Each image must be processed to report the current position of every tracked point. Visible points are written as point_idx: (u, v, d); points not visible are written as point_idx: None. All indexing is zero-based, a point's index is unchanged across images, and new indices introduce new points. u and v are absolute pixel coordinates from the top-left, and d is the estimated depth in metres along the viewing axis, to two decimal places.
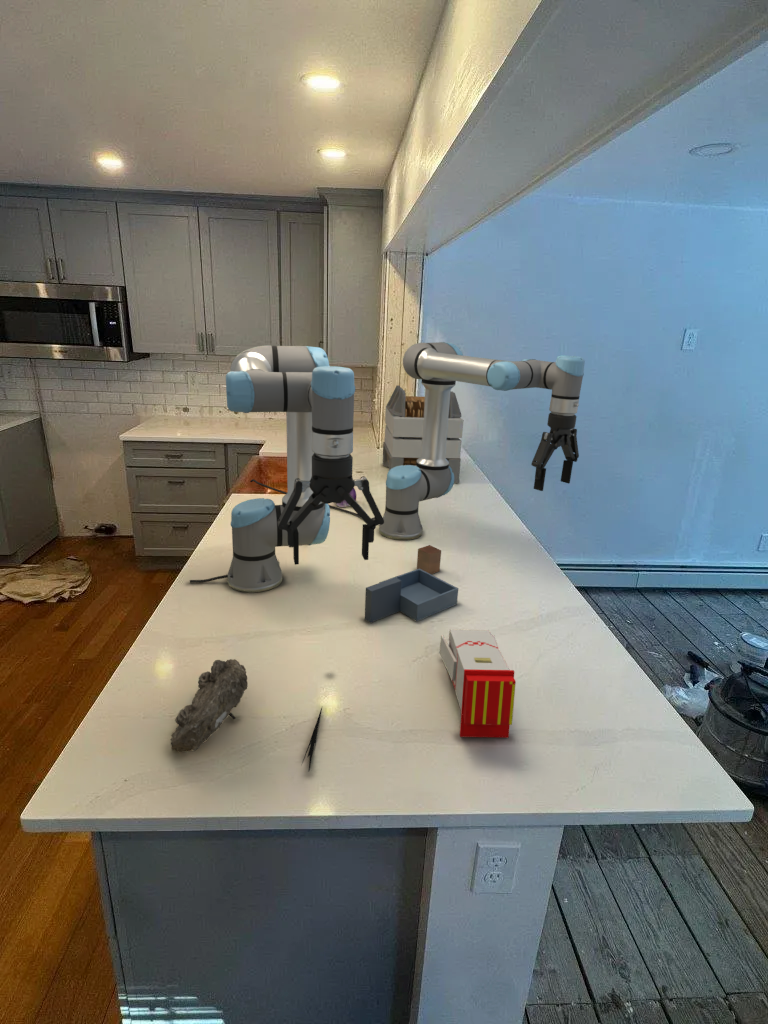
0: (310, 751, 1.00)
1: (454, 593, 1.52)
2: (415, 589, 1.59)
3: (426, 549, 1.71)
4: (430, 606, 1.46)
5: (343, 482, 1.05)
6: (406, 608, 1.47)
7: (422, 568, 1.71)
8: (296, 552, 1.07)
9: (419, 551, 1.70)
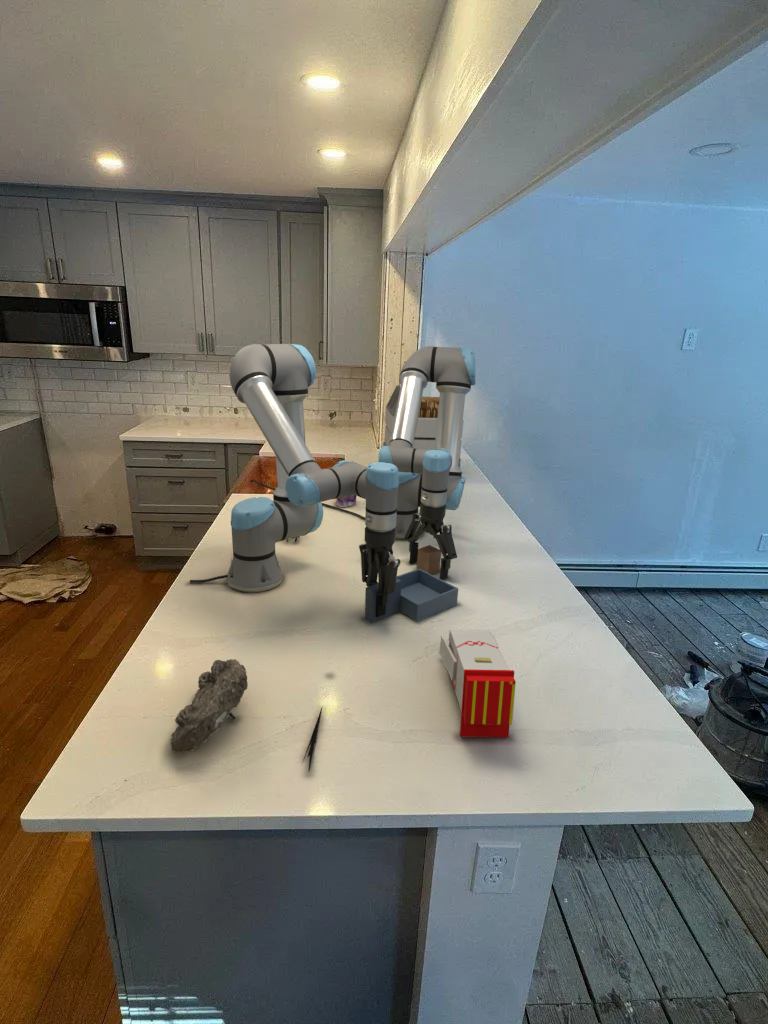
0: (310, 751, 1.00)
1: (454, 593, 1.52)
2: (415, 589, 1.59)
3: (426, 549, 1.71)
4: (430, 606, 1.46)
5: (381, 550, 1.37)
6: (406, 608, 1.47)
7: (422, 568, 1.71)
8: None
9: (419, 551, 1.70)
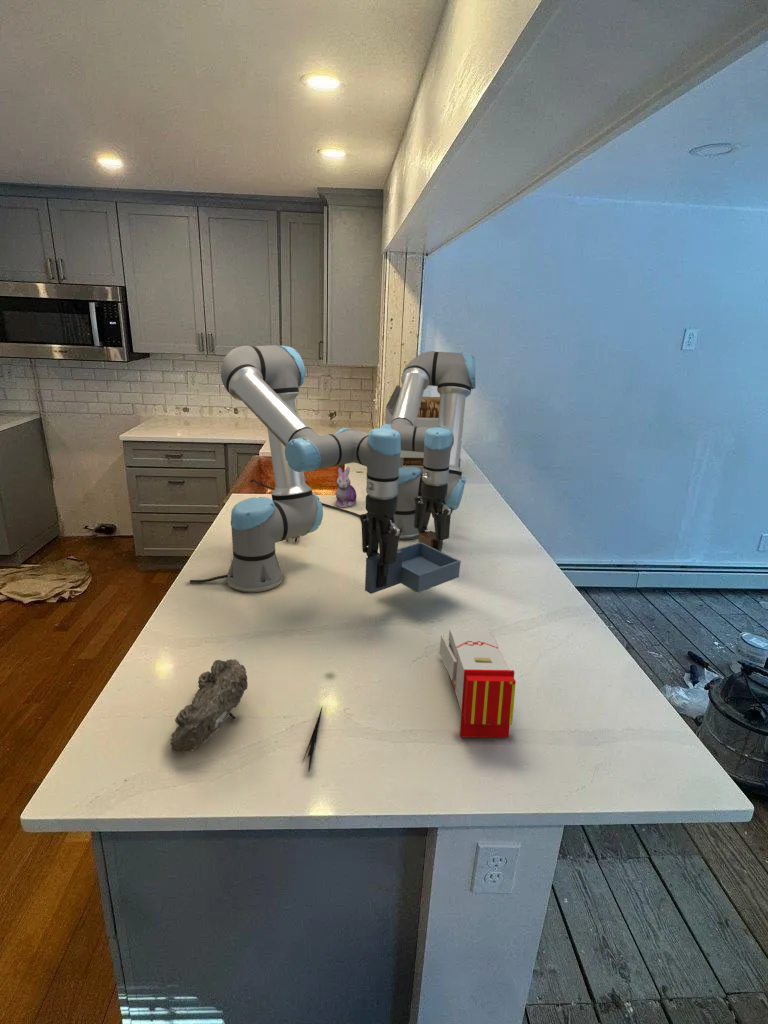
0: (310, 751, 1.00)
1: (456, 566, 1.49)
2: (416, 562, 1.57)
3: (428, 534, 1.69)
4: (432, 577, 1.44)
5: (382, 518, 1.34)
6: (407, 580, 1.44)
7: None
8: None
9: (420, 536, 1.69)
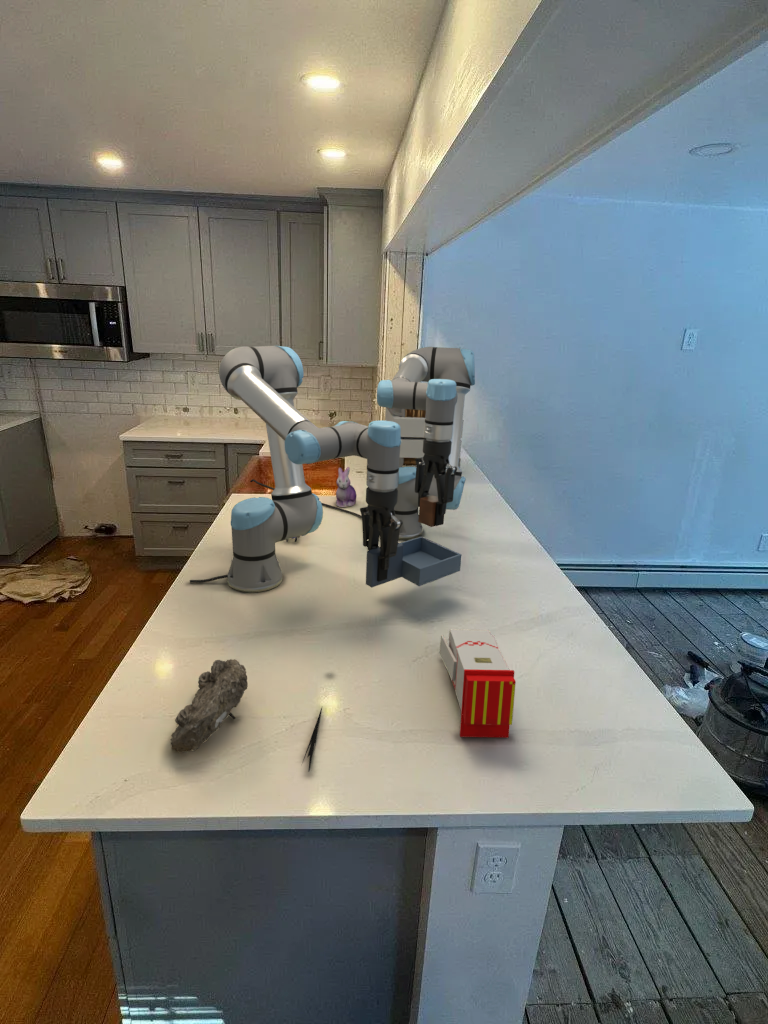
0: (310, 751, 1.00)
1: (457, 559, 1.48)
2: (417, 557, 1.56)
3: (429, 498, 1.55)
4: (433, 571, 1.43)
5: (383, 511, 1.33)
6: (408, 573, 1.43)
7: (424, 519, 1.55)
8: None
9: (422, 500, 1.55)
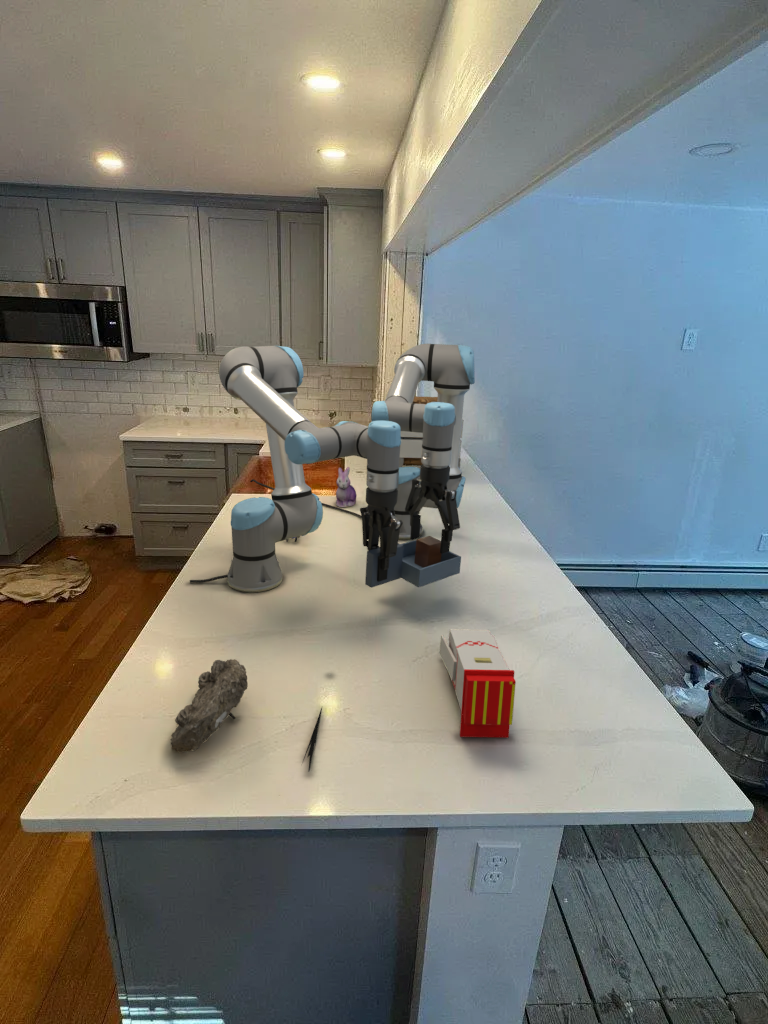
0: (310, 751, 1.00)
1: (457, 561, 1.48)
2: None
3: (426, 540, 1.50)
4: (433, 572, 1.43)
5: (382, 511, 1.33)
6: (408, 574, 1.43)
7: (421, 561, 1.51)
8: None
9: (418, 542, 1.50)
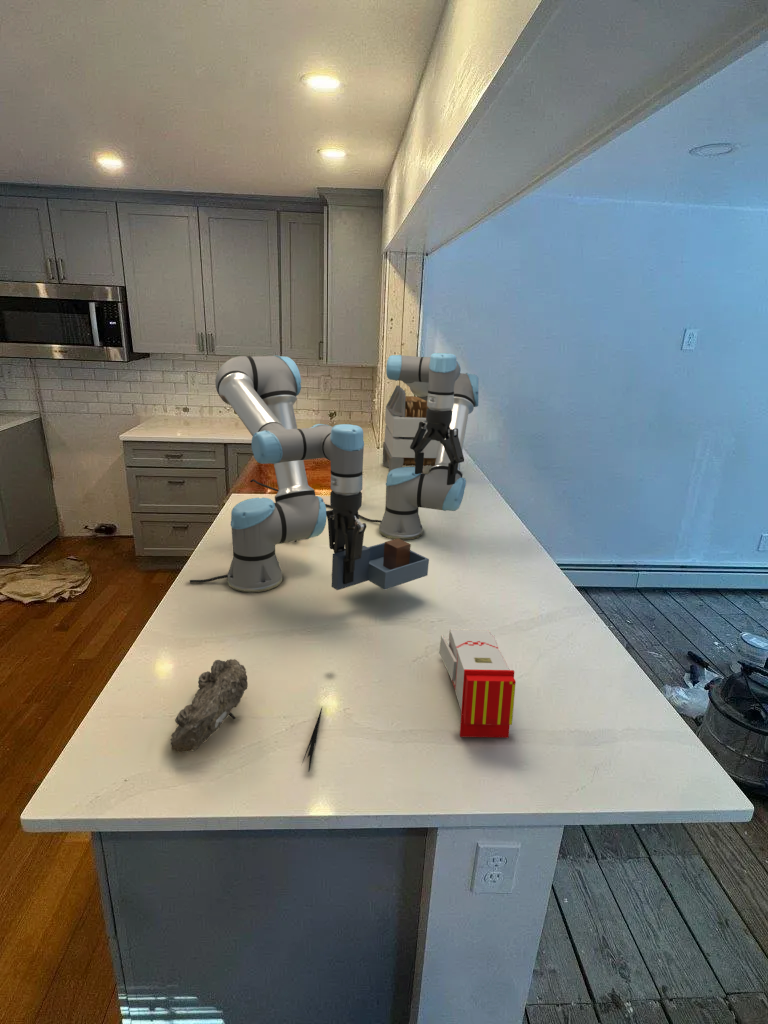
0: (310, 751, 1.00)
1: (424, 564, 1.49)
2: None
3: (394, 542, 1.51)
4: (399, 575, 1.44)
5: (347, 514, 1.34)
6: (374, 577, 1.44)
7: (389, 564, 1.52)
8: None
9: (386, 544, 1.51)
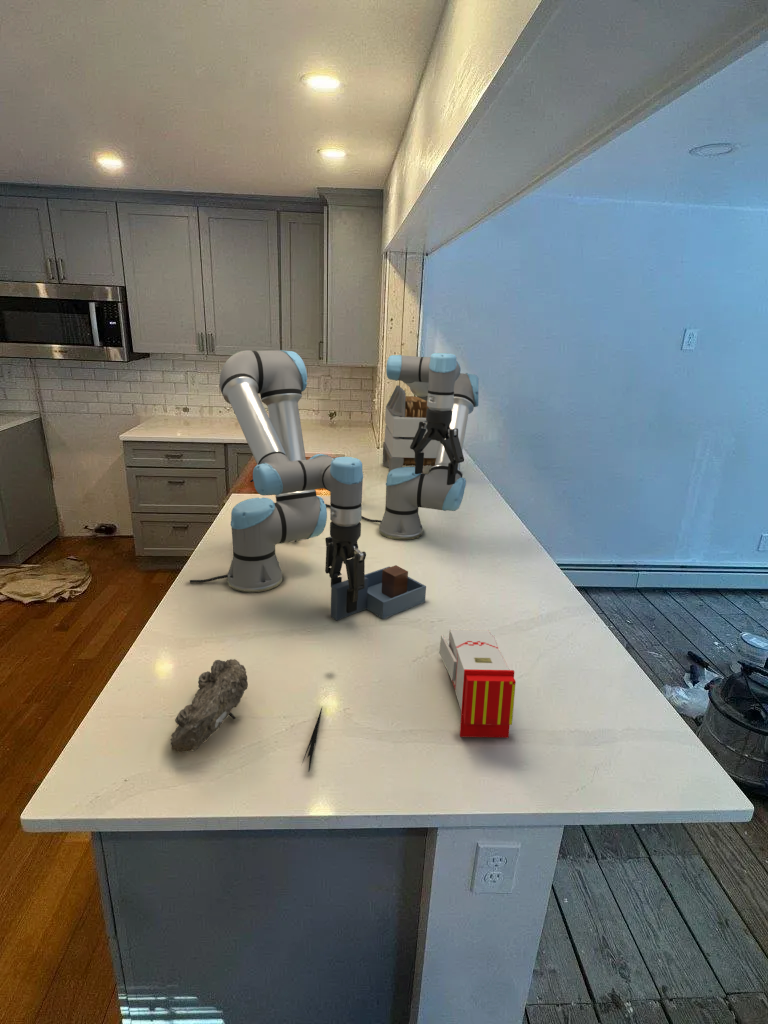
0: (310, 751, 1.00)
1: (422, 591, 1.52)
2: None
3: (392, 570, 1.54)
4: (397, 603, 1.47)
5: (346, 544, 1.37)
6: (373, 606, 1.47)
7: (387, 591, 1.54)
8: None
9: (384, 572, 1.54)
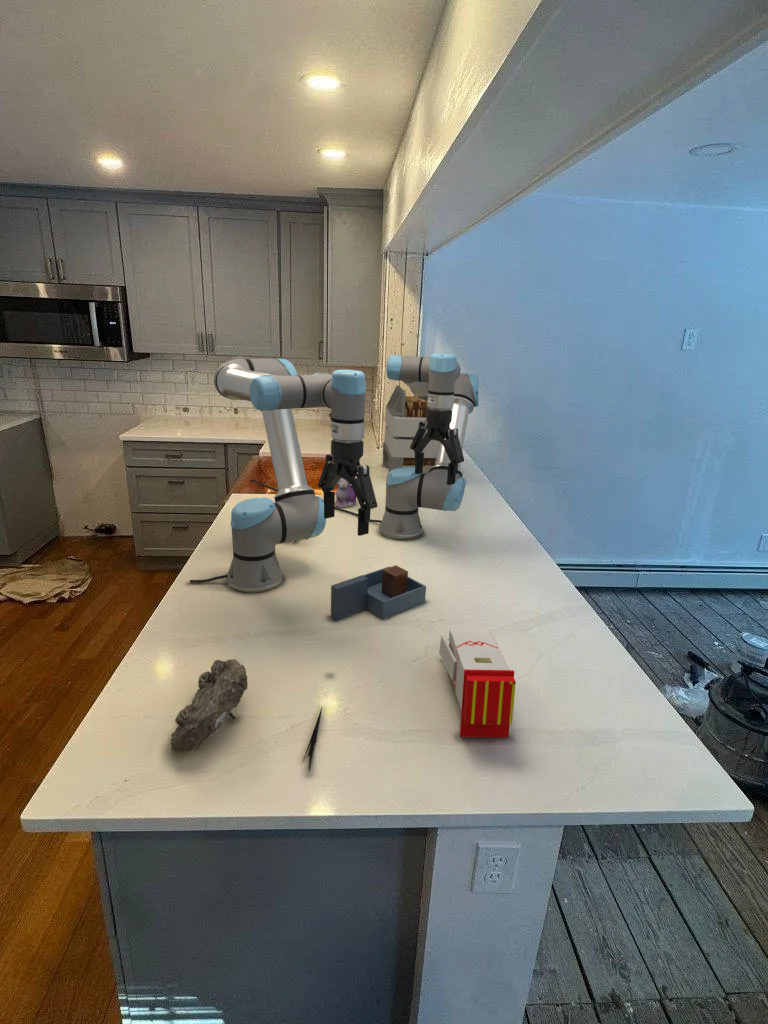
0: (310, 751, 1.00)
1: (422, 591, 1.52)
2: None
3: (392, 570, 1.54)
4: (397, 603, 1.47)
5: (348, 464, 1.30)
6: (373, 606, 1.47)
7: (387, 591, 1.54)
8: (324, 508, 1.41)
9: (384, 572, 1.54)
